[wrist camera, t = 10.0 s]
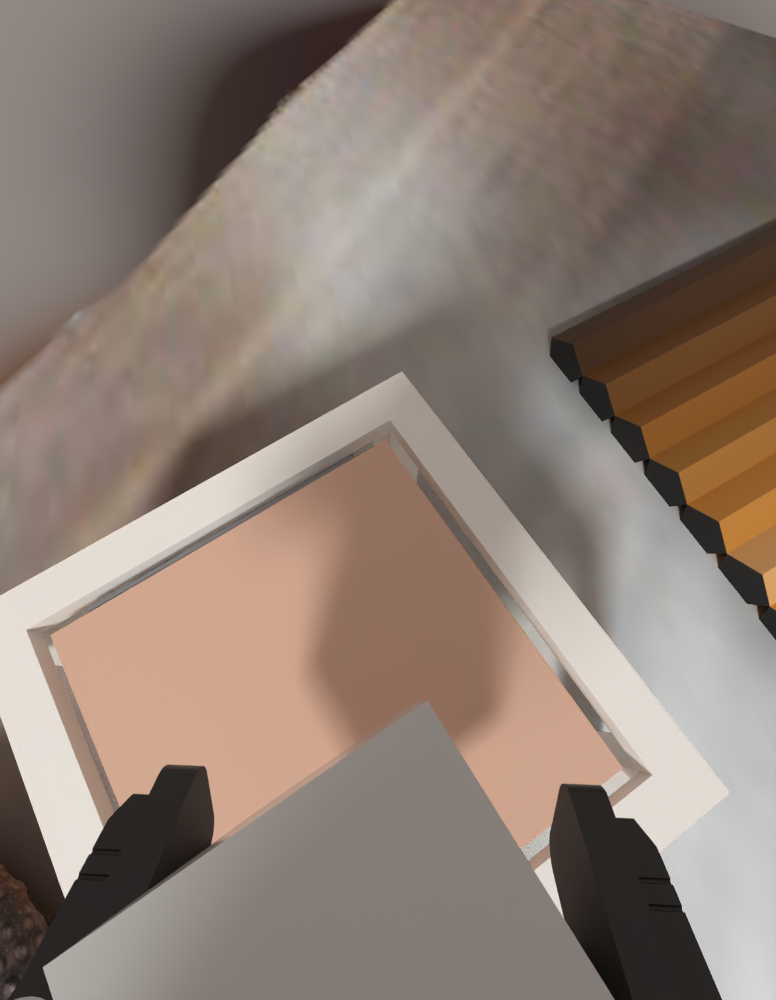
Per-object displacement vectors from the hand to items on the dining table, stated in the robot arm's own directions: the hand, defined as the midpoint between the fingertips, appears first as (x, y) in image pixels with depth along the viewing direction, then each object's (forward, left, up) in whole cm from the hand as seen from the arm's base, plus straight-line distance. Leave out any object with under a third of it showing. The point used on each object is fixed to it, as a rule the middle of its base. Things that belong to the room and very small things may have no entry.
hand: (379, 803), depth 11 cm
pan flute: (-35, -2, -21) cm, 41 cm away
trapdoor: (+1, -3, -9) cm, 10 cm away
